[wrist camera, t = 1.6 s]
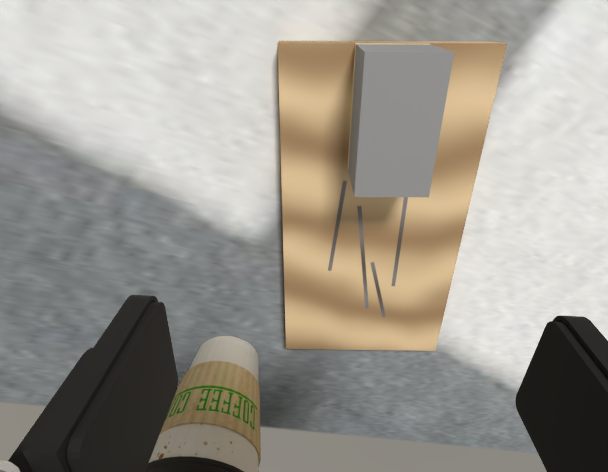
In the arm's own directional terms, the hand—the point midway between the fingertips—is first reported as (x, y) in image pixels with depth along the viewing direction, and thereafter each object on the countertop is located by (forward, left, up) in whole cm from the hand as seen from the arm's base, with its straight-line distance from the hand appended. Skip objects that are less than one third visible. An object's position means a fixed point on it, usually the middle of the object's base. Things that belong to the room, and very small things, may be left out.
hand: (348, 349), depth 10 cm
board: (+8, +4, -21) cm, 23 cm away
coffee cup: (+24, -9, -22) cm, 33 cm away
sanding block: (-1, +4, -20) cm, 20 cm away
